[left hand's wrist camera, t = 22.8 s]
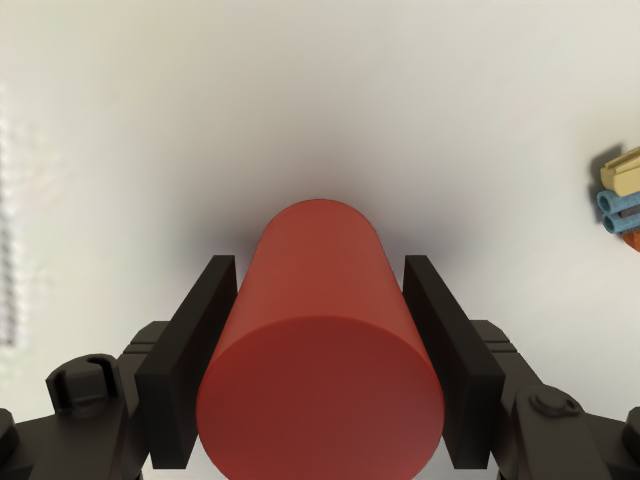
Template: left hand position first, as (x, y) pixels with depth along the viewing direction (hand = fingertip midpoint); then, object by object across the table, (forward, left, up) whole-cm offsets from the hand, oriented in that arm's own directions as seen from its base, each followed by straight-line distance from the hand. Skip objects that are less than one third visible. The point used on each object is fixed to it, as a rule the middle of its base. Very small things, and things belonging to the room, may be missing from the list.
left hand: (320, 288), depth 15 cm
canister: (0, 0, -3) cm, 3 cm away
